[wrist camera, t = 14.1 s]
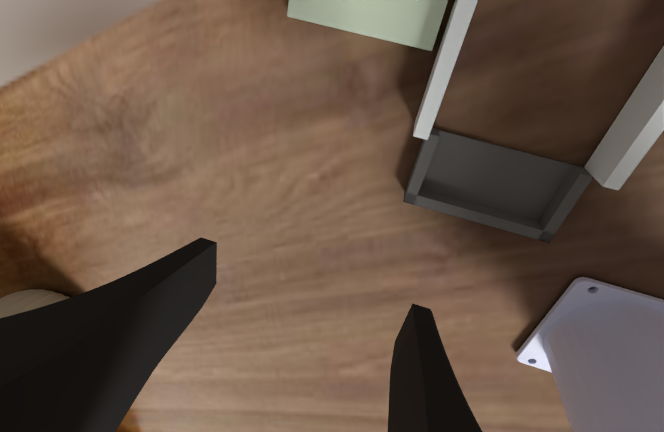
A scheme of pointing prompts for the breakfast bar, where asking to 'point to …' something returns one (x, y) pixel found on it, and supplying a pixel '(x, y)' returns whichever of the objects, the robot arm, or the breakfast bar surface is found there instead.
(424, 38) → the pad
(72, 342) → the robot arm
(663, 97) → the white bars
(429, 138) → the tray
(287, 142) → the breakfast bar surface
